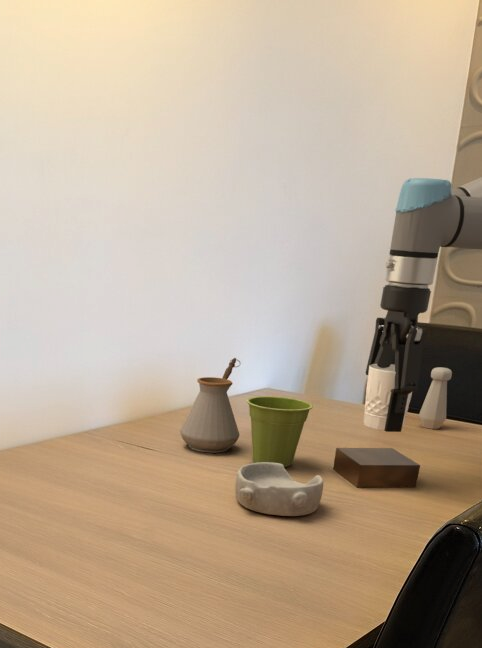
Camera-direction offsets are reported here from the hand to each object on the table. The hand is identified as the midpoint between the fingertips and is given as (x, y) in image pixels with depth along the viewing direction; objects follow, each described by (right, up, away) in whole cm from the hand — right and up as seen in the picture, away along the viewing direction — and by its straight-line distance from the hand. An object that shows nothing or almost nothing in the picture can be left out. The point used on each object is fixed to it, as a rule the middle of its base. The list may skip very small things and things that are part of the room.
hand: (382, 425), depth 144 cm
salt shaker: (+23, +9, +43) cm, 50 cm away
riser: (0, -9, +4) cm, 10 cm away
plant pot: (-18, -5, +9) cm, 21 cm away
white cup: (0, 0, 0) cm, 0 cm away
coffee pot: (-27, +1, +21) cm, 35 cm away
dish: (-21, -16, -12) cm, 29 cm away
